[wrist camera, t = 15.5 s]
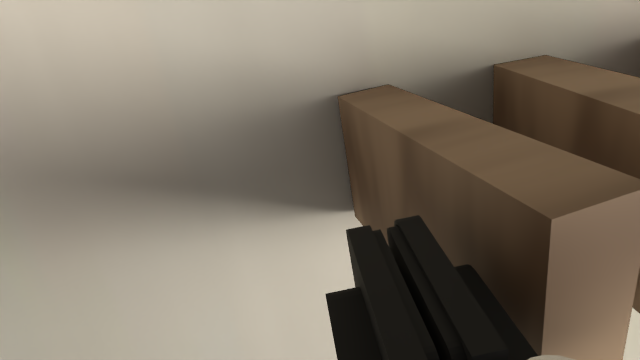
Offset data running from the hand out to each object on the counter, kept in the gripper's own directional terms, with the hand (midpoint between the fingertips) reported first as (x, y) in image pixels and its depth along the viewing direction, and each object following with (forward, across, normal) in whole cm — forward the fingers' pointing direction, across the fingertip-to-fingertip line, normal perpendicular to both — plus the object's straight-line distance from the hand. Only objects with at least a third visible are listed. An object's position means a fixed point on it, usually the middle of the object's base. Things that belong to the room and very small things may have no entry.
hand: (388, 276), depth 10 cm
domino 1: (+7, -1, 0) cm, 7 cm away
